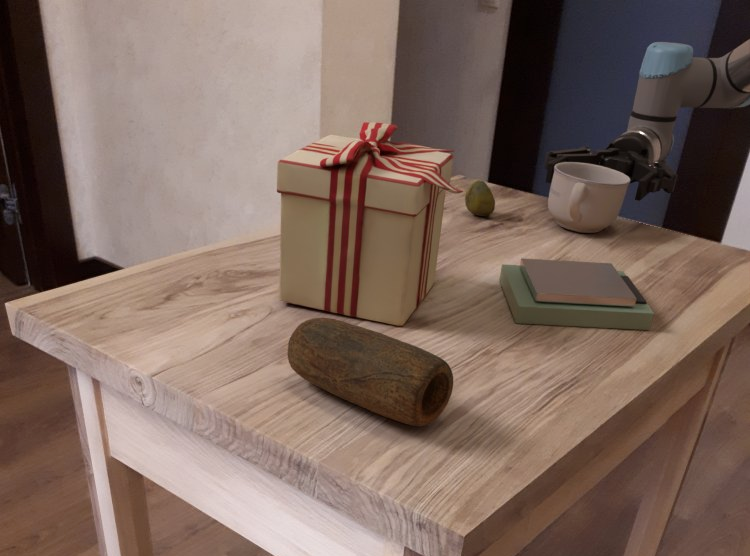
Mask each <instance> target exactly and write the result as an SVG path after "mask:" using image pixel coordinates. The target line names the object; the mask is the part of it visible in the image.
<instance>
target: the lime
mask: <svg viewBox="0 0 750 556" xmlns="http://www.w3.org/2000/svg"><path fill="white" fill-rule="evenodd" d="M464 202H465V207H466V209H467V210H468V211H469V213H471V214H473V215H476V216H480V217H488V216H490V215H492V214H493V213H494V211H495V210H496V209H495V208H496V200H495V197H494V195H493V192H492V190H491V189H490V187H489V186H488V184H487V183H486V182H485V181H484V180H479V179H478V180H475V181H474V182H472V183H471V184H470V186H468V188H467V190H466V192H465V195H464Z"/></svg>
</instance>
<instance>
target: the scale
mask: <svg viewBox="0 0 750 556" xmlns="http://www.w3.org/2000/svg"><path fill="white" fill-rule="evenodd" d="M617 272H618V273H619V275H620V276H621V277H622V279H623V280H624V282H625V283H626V284H627V286H628V287H629V288H630V290H631V291H632V293H633V294H634V295H635V297H636V298H637V299H636V303H635V307H628V306H609V305H591V304H572V303H554V302H536V301H535V299H534V296H533V294H532V292H531V290H530V288H529V285H528V283H527V281H526V279H525V276H524V274H523V272H522V270H521V268H520V264H519V265H517V264H501V268H500V274H499V283H500V285H501V288H502V291H503V293H504V296H505V299H506V301H507V304H508V307H509V309H510V312H511V314H512V317H513V320H514V322H515V324H522V325H523V324H525V325H543V326H561V327H563V326H564V327H578V328H579V327H580V328H582V327H583V328H600V329H619V330H620V329H621V330H636V331H650V330H651V327H652V324H653V320H654V317H655V312H654V310H653V309H652V308H651V306H650V305H649V304H648V301H647V300H646V298H645V297H644V295H642V293H641V291H640V289H638V287H637V286H636V285H635V284H634V282H633V281H632V280H631V278H630V276H629V275H627V274H626V273H625V272H624V270H617Z"/></svg>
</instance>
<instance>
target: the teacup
mask: <svg viewBox="0 0 750 556" xmlns="http://www.w3.org/2000/svg"><path fill="white" fill-rule="evenodd" d="M629 183H630V178H629V177H628V176H627V175H625V174H623V173H621V172H619V171H616V170H613V169H610V168H607V167H603V166H599V165H594V164H588V163H579V162H562V163H558V164H556V165H555V167H554V174H553V179H552V182H551V183H550V188H549V192H548V199H547V209H548V212H549V214H550V215H551V217H552V218H553V219H554V221H555V223H556V224H557V225H558V226H559V227H561V228H564V229H567V230H569V231H573V232H577V233H581V234H582V233H585V234H595V233H599V232H601V231H603V230H604V229H605V228H608V227H609V226H611V225H613V224H614V223H615V221H616V220H617V218H618V217H619V214H620V211H621V209H622V207H623V205H624V200H625V198H626V195H627V190H628V188H629V185H630V184H631V183H630V184H629Z"/></svg>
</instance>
